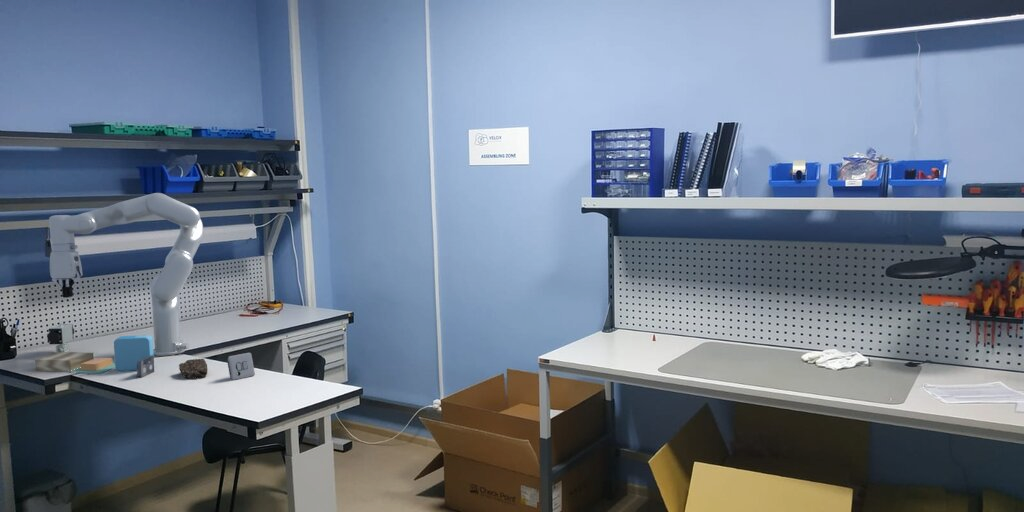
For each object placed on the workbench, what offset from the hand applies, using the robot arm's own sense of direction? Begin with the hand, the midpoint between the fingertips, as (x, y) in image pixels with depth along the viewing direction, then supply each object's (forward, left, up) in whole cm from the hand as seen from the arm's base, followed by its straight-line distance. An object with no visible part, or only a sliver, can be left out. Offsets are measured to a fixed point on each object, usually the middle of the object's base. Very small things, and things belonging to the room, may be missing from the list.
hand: (67, 296), depth 274 cm
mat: (-15, +5, -25) cm, 30 cm away
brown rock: (-56, +11, -26) cm, 62 cm away
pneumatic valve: (+16, -14, -26) cm, 33 cm away
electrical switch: (-73, +11, -26) cm, 78 cm away
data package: (-29, +5, -26) cm, 39 cm away
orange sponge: (-14, +6, -23) cm, 27 cm away
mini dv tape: (-38, +12, -26) cm, 48 cm away
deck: (-1, +5, -25) cm, 26 cm away
